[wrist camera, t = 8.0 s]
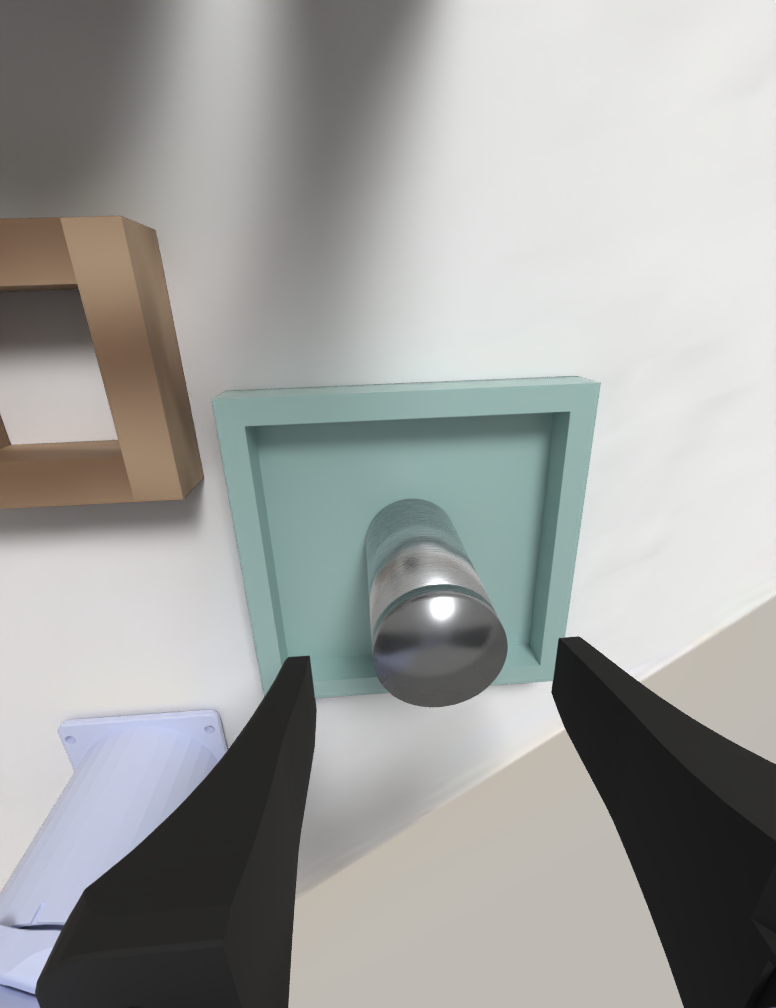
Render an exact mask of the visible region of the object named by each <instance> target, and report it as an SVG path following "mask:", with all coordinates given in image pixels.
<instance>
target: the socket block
mask: <svg viewBox="0 0 776 1008" xmlns="http://www.w3.org/2000/svg"><path fill="white" fill-rule="evenodd" d="M66 289H79V292H80V296H81V300H82V303H83V307H84V311H85V315H86V319H87V322H88V326H89V330H90V334H91V338H92V341H93V345H94V349H95V353H96V357H97V360H98V364H99V368H100V372H101V376H102V379H103V383H104V387H105V391H106V395H107V398H108V402H109V406H110V410H111V414H112V417H113V421H114V425H115V429H116V433H117V436H118V440H108V441H86V442H65V443H43V444H22V445H10V442H9V439H8V436H7V433H6V431H5V428H4V425H3V422H2V419H1V417H0V509H11V508H30V507H49V506H68V505H87V504H106V503H126V502H145V501H164V500H183V499H184V498H185V497H186V496H187V495H188V494H189V493H190V492H191V491H192V490H193V489H194V487H195V486H196V485H197V484H198V483H199V482H200V481H201V480H202V479H203V478H204V475H203V470H202V464H201V459H200V454H199V449H198V444H197V439H196V434H195V429H194V424H193V419H192V414H191V409H190V403H189V398H188V393H187V388H186V383H185V378H184V373H183V368H182V363H181V358H180V353H179V347H178V342H177V337H176V332H175V327H174V322H173V317H172V312H171V307H170V302H169V297H168V292H167V286H166V281H165V276H164V271H163V266H162V261H161V256H160V251H159V246H158V241H157V236H156V231H155V230H154V229H151V228H149V227H147V226H144V225H142V224H139V223H137V222H135V221H132V220H130V219H127V218H125V217H122V216H99V217H60V218H20V219H0V292H4V291H35V290H66Z"/></svg>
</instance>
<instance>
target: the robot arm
mask: <svg viewBox="0 0 776 1008" xmlns="http://www.w3.org/2000/svg"><path fill="white" fill-rule="evenodd" d="M551 693H552V695H553V698H554V701H555V704H556V706H557V709H558V712H559V714H560V717H561V719H562V722H563V724H564V727H565V729H566V731H567V733H568V735H569V737H570V739H571V740H572V743H573V744H574V746H575V748H576V750H577V752H578V754H579V756H580V758H581V760H582V761H583V763H584V765H585V767H586V769H587V771H588V773H589V775H590V777H591V779H592V781H593V782H594V784H595V786H596V788H597V790H598V792H599V794H600V796H601V798H602V799H603V801H604V803H605V805H606V807H607V809H608V811H609V814H610V816H611V817H612V820H613V822H614V824H615V826H616V829H617V831H618V834H619V836H620V838H621V841H622V843H623V846H624V848H625V850H626V853H627V855H628V858H629V860H630V862H631V865H632V867H633V870H634V872H635V875H636V877H637V880H638V882H639V885H640V888H641V890H642V892H643V895H644V898H645V900H646V903H647V905H648V908H649V911H650V913H651V916H652V919H653V921H654V924H655V927H656V930H657V932H658V935H659V937H660V940H661V943H662V946H663V948H664V951H665V954H666V957H667V959H668V962H669V965H670V968H671V971H672V974H673V977H674V980H675V983H676V986H677V989H678V991H679V994H680V997H681V1000H682V1003H683V1006H684V1008H776V764H774V763H772V762H770V761H768V760H766V759H764V758H762V757H760V756H758V755H756V754H755V753H753V752H751V751H749V750H747V749H745V748H743V747H741V746H739V745H737V744H735V743H733V742H732V741H730V740H728V739H726V738H725V737H723V736H721V735H719V734H718V733H716V732H714V731H713V730H711V729H709V728H707V727H706V726H704V725H702V724H701V723H699V722H697V721H696V720H694V719H692V718H691V717H689V716H688V715H686V714H685V713H683V712H681V711H680V710H678V709H677V708H676V707H674V706H673V705H671V704H670V703H668V702H667V701H665V700H663V699H662V698H661V697H659V696H658V695H656V694H655V693H654V692H652V691H651V690H649V689H648V688H646V687H645V686H644V685H642V684H641V683H640V682H638V681H637V680H636V679H634V678H633V677H632V676H630V675H629V674H628V673H626V672H625V671H624V670H622V669H621V668H620V667H618V666H617V665H616V664H615V663H613V662H612V661H611V660H609V659H608V658H607V657H605V656H604V655H603V654H602V653H600V652H599V651H598V650H596V649H595V648H594V647H593V646H591V645H590V644H589V643H587V642H586V641H585V640H583V639H582V638H580V637H567V638H559V639H558V647H557V654H556V662H555V669H554V677H553V684H552V692H551ZM210 726H212V727H210ZM315 731H316V702H315V694H314V685H313V677H312V669H311V661H310V656H295V657H288V658H287V659H286V660H285V661H284V663H283V665H282V667H281V669H280V671H279V673H278V675H277V676H276V678H275V680H274V682H273V684H272V685H271V687H270V689H269V690H268V692H267V694H266V695H265V697H264V699H263V700H262V702H261V703H260V705H259V706H258V708H257V710H256V711H255V713H254V714H253V716H252V717H251V719H250V720H249V722H248V723H247V724H246V726H245V727H244V729H243V730H242V731H241V733H240V734H239V736H238V737H237V738H236V740H235V741H234V743H233V744H232V745H231V747H230V748H229V749H228V750H227V746H226V741H225V737H224V733H223V728H222V724H221V720H220V716H219V714H218V713H217V712H216V711H214V710H198V711H184V712H170V713H157V714H143V715H129V716H115V717H101V718H88V719H74V720H66V721H64V722H63V723H62V724H61V725H60V727H59V728H58V734H59V736H60V738H61V741H62V743H63V746H64V748H65V750H66V753H67V755H68V758H69V760H70V762H71V765H72V767H73V769H74V774H73V776H72V777H71V779H70V781H69V782H68V784H67V785H66V787H65V789H64V790H63V792H62V794H61V795H60V797H59V798H58V800H57V802H56V803H55V805H54V807H53V808H52V810H51V811H50V813H49V815H48V816H47V818H46V819H45V821H44V823H43V824H42V826H41V828H40V829H39V831H38V832H37V834H36V836H35V837H34V839H33V841H32V842H31V844H30V845H29V847H28V849H27V850H26V852H25V854H24V855H23V857H22V858H21V860H20V862H19V863H18V865H17V867H16V868H15V870H14V871H13V873H12V875H11V876H10V878H9V880H8V881H7V883H6V884H5V886H4V888H3V889H2V891H1V893H0V1008H288V999H289V984H290V982H289V981H290V967H291V950H292V934H293V919H294V905H295V890H296V877H297V864H298V851H299V843H300V835H301V828H302V822H303V816H304V809H305V803H306V797H307V791H308V785H309V779H310V772H311V766H312V760H313V753H314V747H315Z"/></svg>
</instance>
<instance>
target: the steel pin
mask: <svg viewBox="0 0 776 1008" xmlns="http://www.w3.org/2000/svg"><path fill="white" fill-rule="evenodd" d="M366 557H367V574H368V590H369V607H370V623H371V639H372V656H373V666H374V670H375V673H376V675H377V678H378V680H379V681H380V683H381V684H382V685H383V687H384V688H385V689H386V690H387V691H388V692H390V693H391V694H392V695H393V696H395V697H397V698H398V699H400V700H402V701H404V702H407V703H410V704H413V705H418V706H424V707H443V706H449V705H454V704H457V703H461V702H463V701H466V700H468V699H470V698H472V697H474V696H476V695H478V694H479V693H481V692H482V691H483V690H485V689H486V688H487V687H488V686H489V685H490V684H491V683H492V682H493V681H494V680H495V679H496V678H497V676H498V675H499V673H500V672H501V670H502V668H503V666H504V663H505V660H506V657H507V651H508V643H507V637H506V633H505V630H504V628H503V626H502V624H501V622H500V620H499V618H498V616H497V614H496V612H495V610H494V608H493V606H492V603H491V601H490V599H489V597H488V595H487V593H486V591H485V589H484V587H483V585H482V583H481V581H480V579H479V577H478V575H477V573H476V571H475V568H474V566H473V564H472V562H471V560H470V558H469V556H468V554H467V552H466V550H465V548H464V546H463V544H462V542H461V540H460V538H459V536H458V533H457V531H456V529H455V527H454V525H453V523H452V521H451V519H450V518H449V516H448V515H447V513H446V512H445V511H444V510H443V509H441V508H440V507H439V506H437V505H436V504H434V503H432V502H429V501H426V500H422V499H403V500H399V501H396V502H393V503H391V504H389V505H387V506H386V507H384V508H383V509H382V510H380V511H379V512H378V513H377V514H376V515H375V517H374V518H373V519H372V521H371V523H370V525H369V527H368V530H367V533H366Z"/></svg>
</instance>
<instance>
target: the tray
mask: <svg viewBox="0 0 776 1008" xmlns="http://www.w3.org/2000/svg"><path fill="white" fill-rule="evenodd" d="M600 384H601V383H600V382H596V381H593V380H589V379H586V378H582V377H579V376H563V377H540V378H516V379H492V380H469V381H445V382H422V383H398V384H375V385H351V386H327V387H304V388H280V389H257V390H233V391H225V392H223V393H222V394H220V395H218V396H217V397H215V398H213V399H212V406H213V411H214V417H215V423H216V428H217V434H218V439H219V445H220V451H221V456H222V462H223V468H224V473H225V479H226V484H227V490H228V496H229V501H230V507H231V513H232V518H233V524H234V529H235V535H236V541H237V546H238V552H239V557H240V563H241V569H242V574H243V580H244V586H245V591H246V597H247V602H248V608H249V614H250V619H251V625H252V631H253V636H254V642H255V647H256V653H257V659H258V664H259V670H260V675H261V681H262V687H263V692H264V697H265V695H266V694H267V692H268V690H269V689H270V687H271V685H272V684H273V682H274V680H275V678H276V676H277V675H278V673H279V671H280V669H281V667H282V665H283V663H284V661H285V660H286V659H287V658H288V657H295V656H310V661H311V669H312V677H313V685H314V694H315V698H324V697H338V696H352V695H365V694H379V693H390V692H388V691H387V690H386V689H385V688H384V687H383V685H382V684H381V683H380V681H379V680H378V678H377V675H376V673H375V670H374V666H373V656H372V639H371V623H370V607H369V590H368V574H367V557H366V533H367V530H368V527H369V525H370V523H371V521H372V519H373V518H374V517H375V515H376V514H377V513H378V512H379V511H380V510H382V509H383V508H384V507H386V506H387V505H389V504H391V503H393V502H396V501H399V500H403V499H422V500H426V501H429V502H432V503H434V504H436V505H437V506H439V507H440V508H441V509H443V510H444V511H445V512H446V513H447V515H448V516H449V518H450V519H451V521H452V523H453V525H454V527H455V529H456V531H457V533H458V536H459V538H460V540H461V542H462V544H463V546H464V548H465V550H466V552H467V554H468V556H469V558H470V560H471V562H472V564H473V566H474V568H475V571H476V573H477V575H478V577H479V579H480V581H481V583H482V585H483V587H484V589H485V591H486V593H487V595H488V597H489V599H490V601H491V603H492V606H493V608H494V610H495V612H496V614H497V616H498V618H499V620H500V622H501V624H502V626H503V628H504V630H505V633H506V637H507V643H508V651H507V657H506V660H505V663H504V666H503V668H502V670H501V672H500V673H499V675H498V676H497V678H496V679H495V680H494V681H493V682H492V683H491V684H490V685H504V684H518V683H531V682H545V681H553V677H554V669H555V662H556V654H557V647H558V639H559V638H565V632H566V625H567V618H568V611H569V604H570V597H571V590H572V583H573V576H574V569H575V561H576V554H577V547H578V540H579V533H580V526H581V519H582V512H583V505H584V498H585V490H586V483H587V476H588V469H589V462H590V455H591V448H592V441H593V434H594V427H595V419H596V412H597V405H598V398H599V391H600ZM490 685H489V686H490Z"/></svg>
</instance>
